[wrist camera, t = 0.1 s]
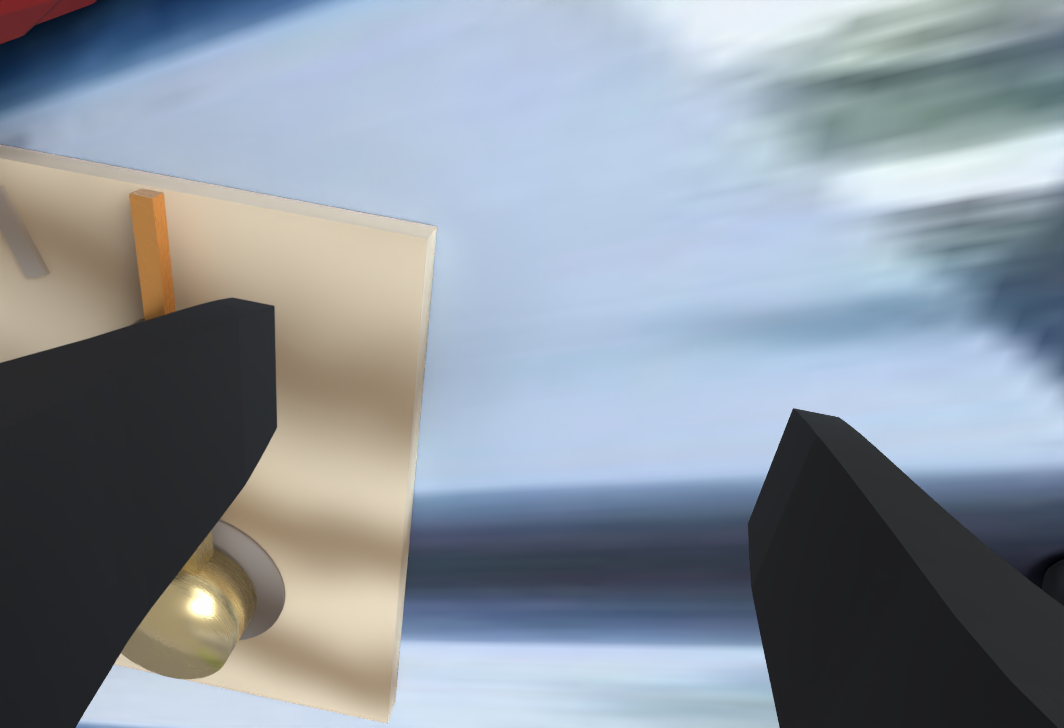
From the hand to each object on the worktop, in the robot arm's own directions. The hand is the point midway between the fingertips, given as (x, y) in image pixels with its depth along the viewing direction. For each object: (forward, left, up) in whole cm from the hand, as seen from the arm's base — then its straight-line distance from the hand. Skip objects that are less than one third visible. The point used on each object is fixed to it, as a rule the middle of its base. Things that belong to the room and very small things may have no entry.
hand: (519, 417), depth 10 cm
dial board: (-11, +14, -10) cm, 21 cm away
